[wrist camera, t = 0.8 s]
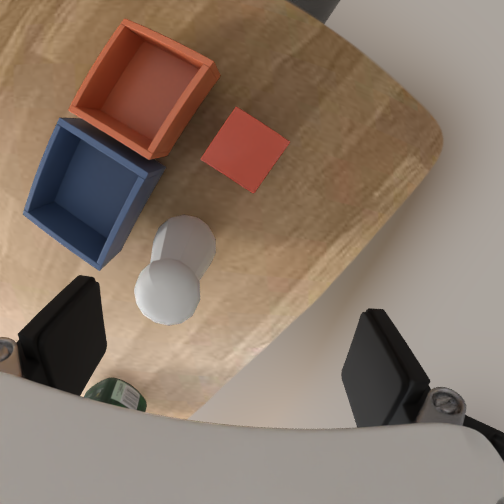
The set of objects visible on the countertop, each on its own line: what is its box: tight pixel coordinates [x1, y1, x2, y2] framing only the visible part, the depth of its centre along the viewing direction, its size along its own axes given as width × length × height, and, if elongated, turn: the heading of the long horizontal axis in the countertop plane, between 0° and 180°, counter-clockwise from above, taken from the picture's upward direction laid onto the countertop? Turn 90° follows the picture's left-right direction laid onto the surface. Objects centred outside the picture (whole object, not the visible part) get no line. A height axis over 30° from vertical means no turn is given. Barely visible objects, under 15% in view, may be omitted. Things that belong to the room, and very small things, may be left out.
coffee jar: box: [84, 378, 147, 412], centre depth 30 cm, size 10×8×19 cm
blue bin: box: [23, 118, 166, 271], centre depth 26 cm, size 10×10×6 cm
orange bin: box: [68, 19, 221, 160], centre depth 23 cm, size 9×9×6 cm
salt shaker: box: [134, 215, 216, 325], centre depth 25 cm, size 6×6×13 cm
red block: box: [201, 107, 290, 194], centre depth 26 cm, size 5×5×5 cm
